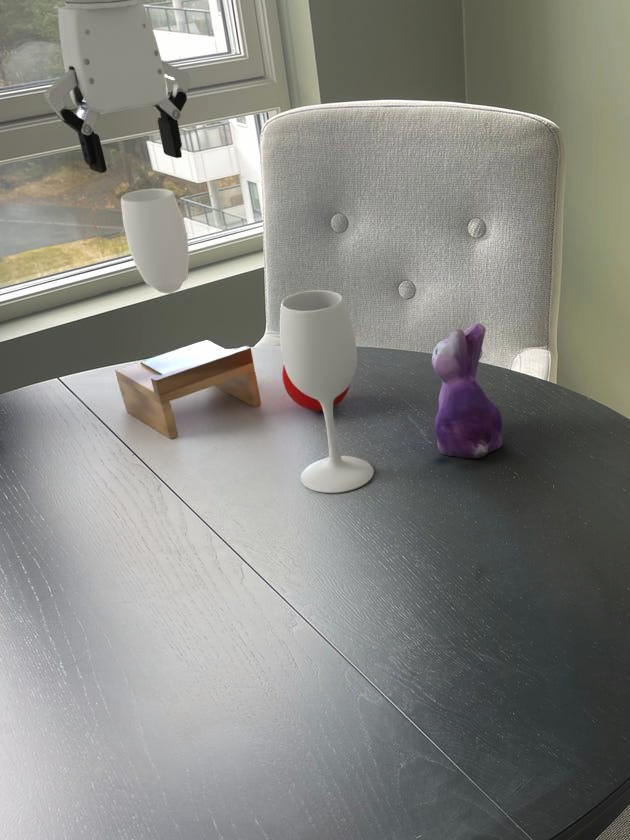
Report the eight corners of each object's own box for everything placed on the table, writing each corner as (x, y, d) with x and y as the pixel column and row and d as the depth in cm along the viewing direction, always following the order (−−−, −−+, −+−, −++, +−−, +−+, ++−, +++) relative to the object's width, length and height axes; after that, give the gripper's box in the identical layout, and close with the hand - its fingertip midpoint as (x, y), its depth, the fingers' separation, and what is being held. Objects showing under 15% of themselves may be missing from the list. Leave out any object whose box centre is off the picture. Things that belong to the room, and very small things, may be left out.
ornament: (305, 428, 126) (293, 354, 120) (277, 404, 132) (264, 333, 126) (366, 410, 130) (357, 337, 124) (336, 387, 136) (326, 317, 130)
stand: (126, 412, 132) (110, 355, 127) (215, 380, 140) (203, 325, 135) (170, 439, 125) (155, 380, 120) (261, 404, 133) (250, 347, 128)
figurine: (444, 421, 126) (437, 306, 117) (516, 433, 123) (514, 316, 114) (410, 452, 120) (399, 334, 111) (485, 467, 116) (480, 345, 107)
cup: (224, 359, 130) (189, 193, 117) (176, 376, 126) (135, 206, 113) (194, 345, 134) (157, 184, 121) (148, 362, 130) (104, 196, 117)
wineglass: (383, 461, 118) (363, 288, 105) (360, 496, 112) (336, 317, 99) (316, 455, 120) (289, 285, 107) (290, 490, 113) (257, 313, 100)
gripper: (154, -19, 111) (185, 146, 121) (5, -6, 101) (53, 171, 112) (187, -15, 106) (217, 155, 117) (35, -2, 97) (82, 182, 108)
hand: (136, 163), depth 115 cm, fingers open, 9 cm apart
